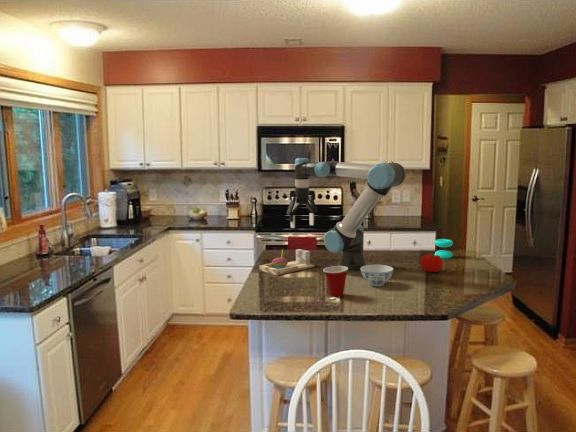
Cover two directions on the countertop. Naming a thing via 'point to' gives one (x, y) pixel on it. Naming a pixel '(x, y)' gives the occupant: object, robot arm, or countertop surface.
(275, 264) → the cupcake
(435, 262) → the tomato
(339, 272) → the plastic cup
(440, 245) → the pair of cyan discs
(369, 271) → the chinaware
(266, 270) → the wooden tray
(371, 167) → the robot arm
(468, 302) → the countertop surface
